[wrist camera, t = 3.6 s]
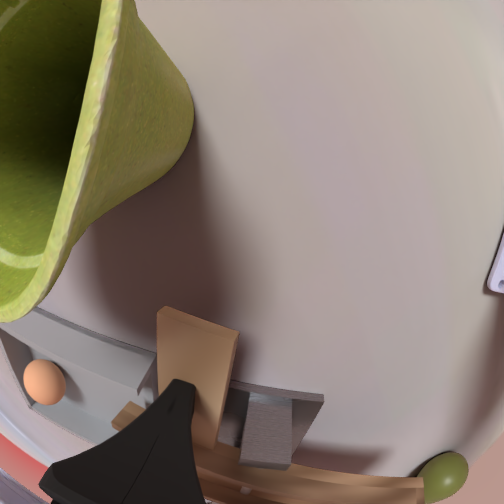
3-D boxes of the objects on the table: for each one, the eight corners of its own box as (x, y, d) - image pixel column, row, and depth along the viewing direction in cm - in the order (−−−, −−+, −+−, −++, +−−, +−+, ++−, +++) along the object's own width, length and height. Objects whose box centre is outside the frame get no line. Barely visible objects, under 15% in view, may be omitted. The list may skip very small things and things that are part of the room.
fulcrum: (323, 394, 15) (330, 462, 10) (283, 462, 18) (281, 511, 13) (220, 377, 15) (201, 446, 10) (208, 449, 18) (195, 499, 13)
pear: (482, 480, 11) (432, 506, 16) (472, 438, 16) (427, 472, 21) (437, 499, 12) (392, 518, 17) (429, 452, 16) (388, 481, 21)
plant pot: (42, 187, 12) (-87, 234, 4) (96, 22, 9) (-27, -27, 1) (187, 255, 13) (71, 398, 4) (270, 52, 9) (243, -108, 1)
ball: (48, 389, 13) (9, 374, 12) (62, 419, 14) (25, 405, 13) (66, 356, 16) (29, 344, 15) (75, 387, 17) (41, 376, 16)
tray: (157, 353, 15) (136, 389, 12) (162, 440, 18) (151, 468, 15) (15, 295, 15) (-11, 314, 12) (44, 388, 19) (28, 407, 16)
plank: (507, 385, 7) (525, 422, 5) (378, 508, 12) (375, 534, 10) (118, 282, 11) (77, 308, 9) (139, 443, 16) (122, 466, 13)
